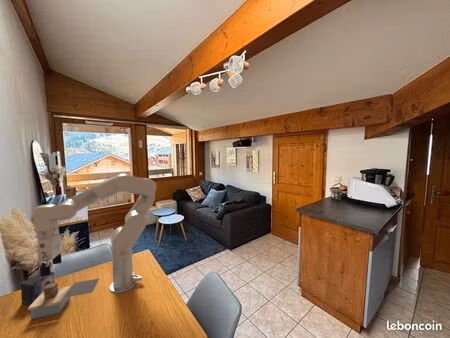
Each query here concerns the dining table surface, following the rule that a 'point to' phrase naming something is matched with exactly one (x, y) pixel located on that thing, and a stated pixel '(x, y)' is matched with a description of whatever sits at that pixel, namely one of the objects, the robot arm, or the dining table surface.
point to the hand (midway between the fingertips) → (51, 269)
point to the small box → (34, 287)
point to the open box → (50, 309)
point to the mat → (83, 287)
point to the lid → (50, 296)
